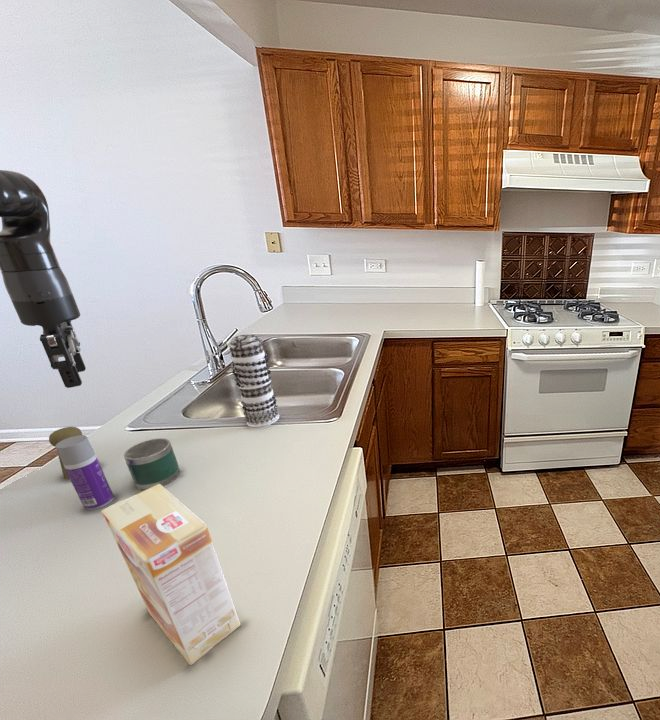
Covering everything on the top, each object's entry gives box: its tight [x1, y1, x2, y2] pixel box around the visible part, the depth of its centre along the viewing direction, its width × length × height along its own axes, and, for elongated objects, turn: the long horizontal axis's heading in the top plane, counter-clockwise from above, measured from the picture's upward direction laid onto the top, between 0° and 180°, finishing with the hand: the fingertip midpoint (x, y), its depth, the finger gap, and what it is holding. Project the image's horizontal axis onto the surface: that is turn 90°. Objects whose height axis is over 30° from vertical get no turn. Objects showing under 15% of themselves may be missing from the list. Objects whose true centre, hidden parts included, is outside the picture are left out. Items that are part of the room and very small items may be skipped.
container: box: [55, 434, 115, 511], centre depth 80 cm, size 5×5×15 cm
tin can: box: [123, 437, 181, 491], centre depth 88 cm, size 8×8×8 cm
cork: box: [48, 426, 83, 480], centre depth 90 cm, size 6×6×11 cm
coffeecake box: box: [100, 484, 242, 666], centre depth 56 cm, size 15×7×20 cm, turn 56°
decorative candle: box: [226, 333, 280, 428], centre depth 109 cm, size 9×9×25 cm
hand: (76, 378), depth 75 cm, fingers open, 8 cm apart
